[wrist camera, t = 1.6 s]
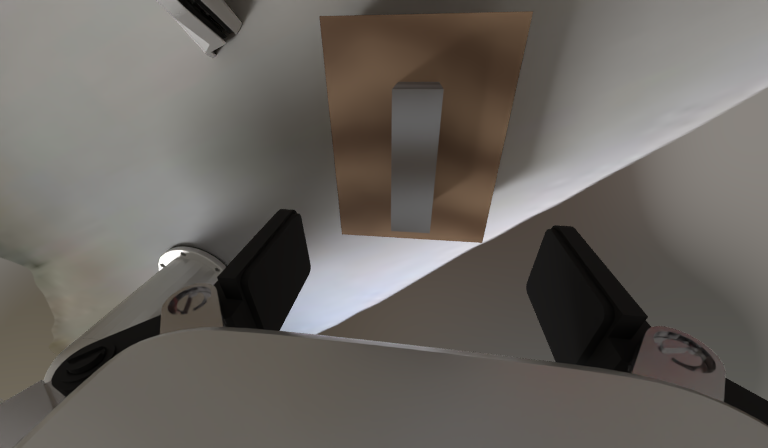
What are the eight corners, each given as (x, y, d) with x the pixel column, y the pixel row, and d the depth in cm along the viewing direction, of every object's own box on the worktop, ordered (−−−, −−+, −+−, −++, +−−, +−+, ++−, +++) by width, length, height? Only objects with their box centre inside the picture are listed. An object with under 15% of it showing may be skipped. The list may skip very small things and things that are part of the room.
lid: (479, 235, 28) (493, 277, 23) (344, 227, 29) (328, 265, 24) (527, 13, 19) (568, -3, 13) (324, 18, 20) (290, 5, 15)
